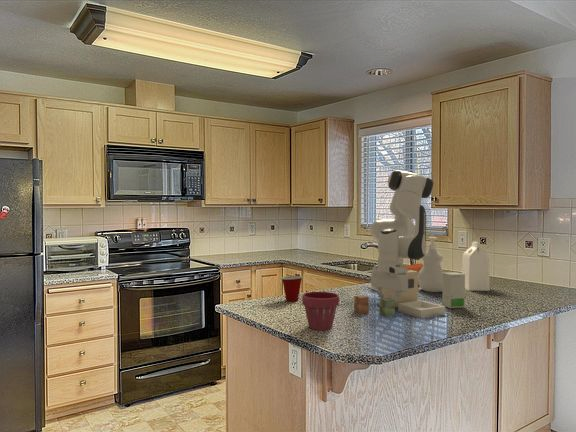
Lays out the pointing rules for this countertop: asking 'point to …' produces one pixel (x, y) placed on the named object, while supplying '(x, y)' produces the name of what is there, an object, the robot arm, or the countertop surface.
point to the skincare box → (453, 290)
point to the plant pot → (320, 309)
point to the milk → (476, 268)
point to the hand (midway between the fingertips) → (388, 299)
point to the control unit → (409, 294)
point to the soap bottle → (431, 270)
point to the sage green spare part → (386, 307)
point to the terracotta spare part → (361, 304)
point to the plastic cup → (292, 287)
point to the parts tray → (421, 309)
